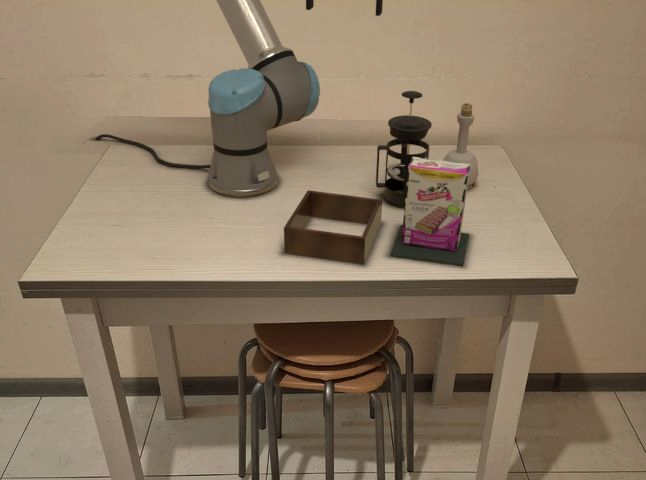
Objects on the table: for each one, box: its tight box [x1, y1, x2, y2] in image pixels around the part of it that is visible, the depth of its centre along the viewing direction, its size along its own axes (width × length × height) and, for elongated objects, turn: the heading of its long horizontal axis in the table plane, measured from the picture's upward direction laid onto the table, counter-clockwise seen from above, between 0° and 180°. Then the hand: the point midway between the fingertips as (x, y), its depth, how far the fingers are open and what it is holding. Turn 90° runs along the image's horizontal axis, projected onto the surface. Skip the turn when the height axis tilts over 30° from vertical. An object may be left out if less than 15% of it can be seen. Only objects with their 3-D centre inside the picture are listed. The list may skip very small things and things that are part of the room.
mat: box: [389, 224, 470, 267], centre depth 137 cm, size 14×12×1 cm
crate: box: [283, 189, 383, 265], centre depth 137 cm, size 16×17×6 cm
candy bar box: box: [401, 157, 471, 252], centre depth 132 cm, size 11×5×16 cm, turn 77°
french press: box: [375, 90, 433, 209], centre depth 146 cm, size 12×9×23 cm
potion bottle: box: [442, 102, 479, 190], centre depth 154 cm, size 9×9×18 cm
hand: (344, 11), depth 133 cm, fingers open, 13 cm apart
